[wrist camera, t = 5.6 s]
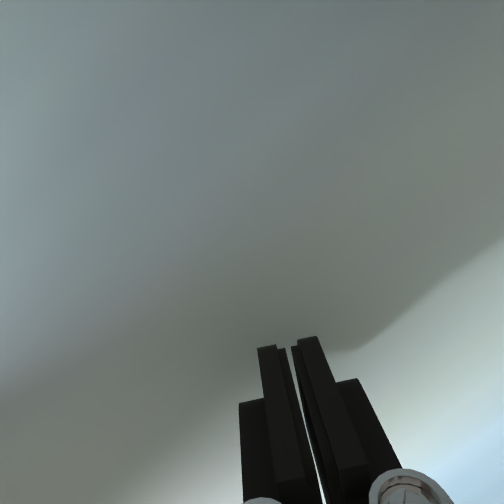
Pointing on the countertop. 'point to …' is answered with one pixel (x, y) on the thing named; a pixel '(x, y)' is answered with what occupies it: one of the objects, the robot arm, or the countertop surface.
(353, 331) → the countertop surface
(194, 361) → the countertop surface
